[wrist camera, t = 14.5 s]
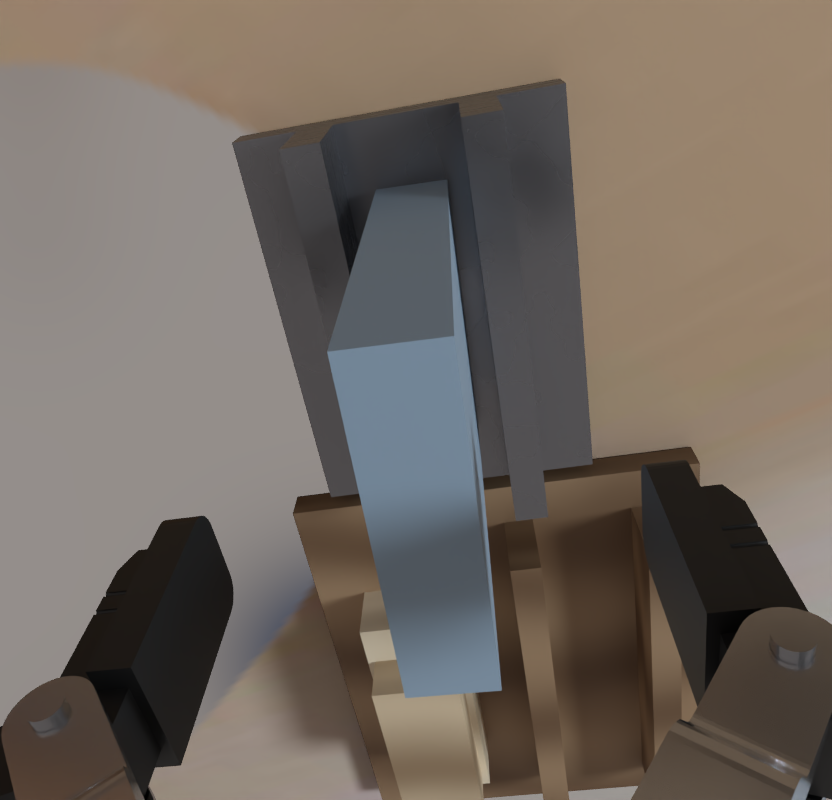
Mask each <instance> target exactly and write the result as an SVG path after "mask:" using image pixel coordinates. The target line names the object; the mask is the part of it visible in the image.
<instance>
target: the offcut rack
mask: <svg viewBox="0 0 832 800" xmlns="http://www.w3.org/2000/svg"><path fill="white" fill-rule="evenodd" d="M677 460H687V462H688V463H689V465H690V467H691V469H692V471H693V473H694V475H695V477H696V479H697V481H698V483H699V482H700V463H699V461H698V459H697V457H696V455H695V454H694V452H693V450H692V448H691V447H687V448H679V449H671V450H663V451H655V452H648V453H640V454H632V455H624V456H616V457H608V458H600V459H592V461H593V464H591V465H583V466H575V467H567V468H559V469H551V470H543V474H544V483H545V492H546V501H547V510H548V517H546V518H537V519H529V520H520V521H516V518H515V511H514V504H513V497H512V490H511V483H510V477H509V475H504V476H496V477H488V478H483V485H484V496H485V507H486V519H487V530H488V541H489V552H490V564H491V575H492V586H493V597H494V608H495V620H496V631H497V642H498V653H499V664H500V676H501V687H502V691H490V692H478V695H479V700H480V705H481V710H482V715H483V720H484V726H485V731H486V736H487V744H488V760H489V775H490V783H486V784H483V798H491V797H503V796H515V795H528V794H540V793H543V799H544V800H569V795H568V791H577V790H590V789H602V788H614V787H627V786H639V784H640V782H641V780H642V778H643V777H644V775H645V773H646V771H647V769H648V767H649V766H650V764H651V762H652V760H653V758H654V756H655V755H656V753H657V751H658V749H659V747H660V745H661V744H662V742H663V740H664V738H665V736H666V735H667V733H668V731H669V730H670V728H671V727H672V725H673V724H674V723H675V722H676V721H677V720H679V719H682V720H684V721H686V722H688V721H689V720H690V719H691V718H692V716H693V714H694V712H695V711H696V709H697V704H696V701H695V698H694V695H693V693H692V690H691V687H690V684H689V681H688V678H687V675H686V673H685V670H684V667H683V664H682V661H681V658H680V655H679V652H678V650H677V647H676V644H675V641H674V638H673V635H672V632H671V629H670V627H669V624H668V621H667V618H666V615H665V612H664V609H663V607H662V604H661V601H660V598H659V595H658V592H657V589H656V586H655V584H654V581H653V578H652V575H651V572H650V569H649V566H648V563H647V558H646V554H645V548H644V542H643V530H642V492H641V468H642V465H643V464H651V463H660V462H668V461H677ZM293 516H294V518H295V522H296V525H297V528H298V531H299V535H300V538H301V541H302V544H303V547H304V551H305V554H306V557H307V560H308V563H309V567H310V570H311V573H312V576H313V579H314V583H315V586H316V589H317V592H318V595H319V599H320V602H321V605H322V608H323V611H324V614H325V618H326V621H327V624H328V627H329V630H330V634H331V637H332V640H333V643H334V646H335V650H336V653H337V656H338V659H339V662H340V665H341V669H342V672H343V675H344V678H345V681H346V685H347V688H348V691H349V694H350V697H351V701H352V704H353V707H354V710H355V713H356V716H357V720H358V723H359V726H360V729H361V732H362V736H363V739H364V742H365V745H366V748H367V752H368V755H369V758H370V761H371V764H372V768H373V771H374V774H375V777H376V780H377V783H378V787H379V790H380V793H381V796H382V799H383V800H402V798H401V795H400V791H399V788H398V784H397V781H396V778H395V774H394V771H393V767H392V764H391V760H390V757H389V754H388V750H387V747H386V743H385V740H384V737H383V733H382V730H381V726H380V723H379V720H378V716H377V713H376V709H375V706H374V703H373V699H372V687H373V678H372V674H371V671H370V667H369V664H368V660H367V657H366V653H365V650H364V646H363V643H362V639H361V636H360V625H361V617H362V609H363V600H364V592H373V591H381V588H380V584H379V579H378V575H377V571H376V566H375V562H374V557H373V553H372V548H371V544H370V540H369V535H368V531H367V526H366V522H365V517H364V513H363V509H362V504H361V500H360V495H359V494H353V495H345V496H337V497H331V495H330V493H324V494H316V495H308V496H300V497H297V501H296V504H295V508H294V512H293Z"/></svg>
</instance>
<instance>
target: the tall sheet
mask: <svg viewBox="0 0 832 800" xmlns="http://www.w3.org/2000/svg"><path fill="white" fill-rule="evenodd" d="M327 354H328V358H329V362H330V367H331V371H332V376H333V380H334V385H335V389H336V393H337V398H338V402H339V407H340V411H341V416H342V420H343V424H344V429H345V433H346V438H347V442H348V447H349V451H350V455H351V460H352V464H353V469H354V473H355V478H356V482H357V486H358V491H359V495H360V500H361V504H362V509H363V513H364V517H365V522H366V526H367V531H368V535H369V540H370V544H371V548H372V553H373V557H374V562H375V566H376V571H377V575H378V579H379V584H380V588H381V593H382V597H383V602H384V606H385V610H386V615H387V619H388V624H389V628H390V633H391V637H392V641H393V646H394V650H395V655H396V659H397V664H398V668H399V672H400V677H401V681H402V686H403V690H404V695H405V698H414V697H427V696H440V695H452V694H465V693H478V692H490V691H502V687H501V676H500V664H499V653H498V642H497V631H496V620H495V608H494V597H493V586H492V575H491V564H490V552H489V541H488V530H487V519H486V507H485V496H484V485H483V474H482V463H481V451H480V440H479V429H478V420H477V412H476V404H475V396H474V388H473V380H472V372H471V364H470V356H469V348H468V340H467V332H466V324H465V316H464V308H463V300H462V292H461V284H460V276H459V268H458V260H457V252H456V244H455V236H454V229H453V221H452V213H451V205H450V197H449V189H448V181H447V179H446V180H439V181H432V182H425V183H418V184H411V185H404V186H397V187H390V188H383V189H376V191H375V195H374V198H373V201H372V204H371V208H370V211H369V214H368V218H367V221H366V224H365V228H364V231H363V234H362V238H361V241H360V244H359V248H358V251H357V254H356V258H355V261H354V264H353V267H352V271H351V274H350V277H349V281H348V284H347V287H346V291H345V294H344V297H343V301H342V304H341V307H340V311H339V314H338V317H337V321H336V324H335V327H334V330H333V334H332V337H331V340H330V344H329V347H328V350H327Z"/></svg>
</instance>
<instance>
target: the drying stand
mask: <svg viewBox="0 0 832 800" xmlns="http://www.w3.org/2000/svg"><path fill="white" fill-rule="evenodd" d="M232 144H233V148H234V151H235V155H236V158H237V162H238V166H239V169H240V173H241V176H242V180H243V183H244V187H245V191H246V194H247V198H248V201H249V205H250V208H251V212H252V216H253V219H254V223H255V226H256V230H257V233H258V237H259V241H260V244H261V248H262V251H263V255H264V259H265V262H266V266H267V269H268V273H269V277H270V280H271V283H272V287H273V291H274V294H275V298H276V301H277V305H278V309H279V312H280V316H281V319H282V323H283V327H284V330H285V334H286V337H287V341H288V345H289V348H290V352H291V355H292V359H293V362H294V366H295V369H296V373H297V377H298V380H299V384H300V387H301V391H302V394H303V398H304V402H305V405H306V409H307V413H308V416H309V420H310V423H311V427H312V430H313V434H314V438H315V441H316V445H317V448H318V452H319V456H320V459H321V463H322V466H323V470H324V473H325V477H326V481H327V484H328V488H329V491H330V495H331V497H337V496H345V495H353V494H359V491H358V486H357V482H356V478H355V473H354V469H353V464H352V460H351V455H350V451H349V447H348V442H347V438H346V433H345V429H344V424H343V420H342V416H341V411H340V407H339V402H338V398H337V393H336V389H335V385H334V380H333V376H332V371H331V367H330V362H329V358H328V354H327V350H328V347H329V344H330V340H331V337H332V334H333V330H334V327H335V324H336V321H337V317H338V314H339V311H340V307H341V304H342V301H343V297H344V294H345V291H346V287H347V284H348V281H349V277H350V274H351V271H352V267H353V264H354V261H355V258H356V254H357V251H358V248H359V244H360V241H361V238H362V234H363V231H364V228H365V224H366V221H367V218H368V214H369V211H370V208H371V204H372V201H373V198H374V195H375V191H376V189H383V188H390V187H397V186H404V185H411V184H418V183H425V182H432V181H439V180H446V179H447V181H448V189H449V197H450V205H451V213H452V221H453V229H454V236H455V244H456V252H457V260H458V268H459V276H460V284H461V292H462V300H463V308H464V316H465V324H466V332H467V340H468V348H469V356H470V364H471V372H472V380H473V388H474V396H475V404H476V412H477V420H478V429H479V440H480V451H481V463H482V474H483V478H488V477H496V476H504V475H509V477H510V483H511V490H512V497H513V504H514V511H515V518H516V521H520V520H529V519H537V518H546V517H548V510H547V501H546V492H545V483H544V474H543V470H551V469H559V468H567V467H575V466H583V465H591V464H593V461H592V447H591V433H590V419H589V405H588V391H587V377H586V363H585V349H584V335H583V321H582V307H581V293H580V278H579V264H578V250H577V236H576V222H575V208H574V194H573V180H572V166H571V152H570V138H569V124H568V110H567V96H566V83H565V82H564V81H562V80H561V79H556V80H550V81H545V82H539V83H534V84H528V85H523V86H517V87H511V88H506V89H500V90H495V91H489V92H484V93H478V94H473V95H467V96H462V97H456V98H450V99H445V100H439V101H434V102H428V103H423V104H417V105H412V106H406V107H401V108H395V109H389V110H384V111H378V112H373V113H367V114H362V115H356V116H351V117H345V118H340V119H334V120H329V121H323V122H317V123H312V124H306V125H301V126H295V127H290V128H284V129H279V130H273V131H268V132H262V133H256V134H251V135H245V136H241V137H239V138H238V139H237V140H235V141H234V142H233V143H232Z"/></svg>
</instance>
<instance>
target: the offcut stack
mask: <svg viewBox="0 0 832 800" xmlns="http://www.w3.org/2000/svg"><path fill="white" fill-rule="evenodd" d="M360 636H361V639H362V643H363V646H364V650H365V653H366V657H367V660H368V664H369V667H370V671H371V674H372V678H373V687H372V699H373V703H374V706H375V709H376V713H377V716H378V720H379V723H380V726H381V730H382V733H383V737H384V740H385V743H386V747H387V750H388V754H389V757H390V760H391V764H392V767H393V771H394V774H395V778H396V781H397V784H398V788H399V791H400V795H401V798H402V800H484V798H483V784H486V783H490V775H489V760H488V744H487V736H486V731H485V726H484V720H483V715H482V710H481V705H480V700H479V695H478V693H465V694H452V695H440V696H427V697H414V698H405V695H404V690H403V686H402V681H401V677H400V672H399V668H398V664H397V659H396V655H395V650H394V646H393V641H392V637H391V633H390V628H389V624H388V619H387V615H386V610H385V606H384V602H383V597H382V593H381V591H373V592H364V600H363V609H362V617H361V625H360Z"/></svg>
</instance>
